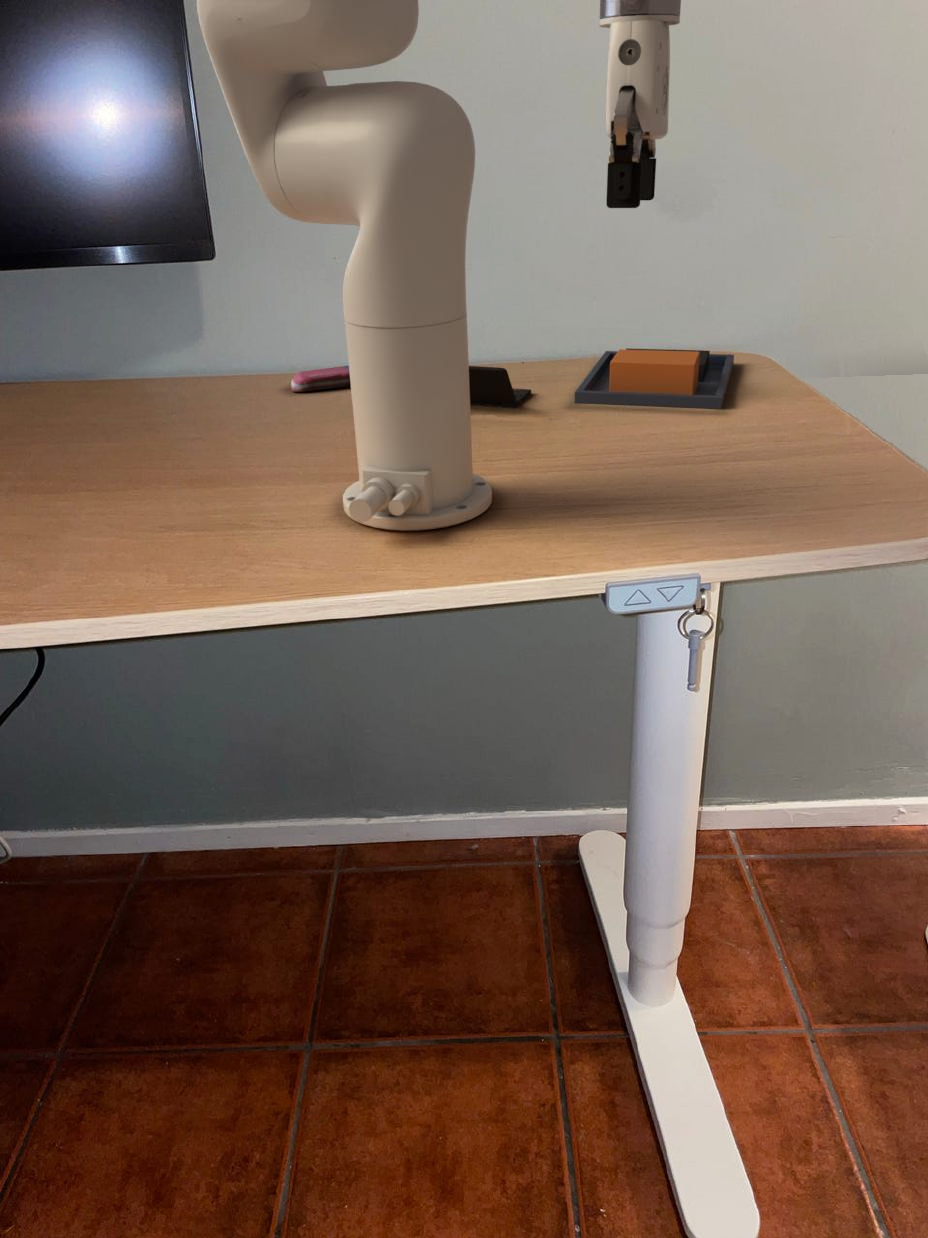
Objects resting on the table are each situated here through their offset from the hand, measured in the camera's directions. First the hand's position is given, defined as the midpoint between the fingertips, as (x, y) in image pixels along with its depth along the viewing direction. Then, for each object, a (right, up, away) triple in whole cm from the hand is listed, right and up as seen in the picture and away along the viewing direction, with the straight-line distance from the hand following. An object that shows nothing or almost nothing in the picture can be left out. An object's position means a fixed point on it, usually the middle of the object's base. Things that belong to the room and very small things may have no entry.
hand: (631, 203), depth 102 cm
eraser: (-32, -14, +20) cm, 41 cm away
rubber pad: (+7, -13, +17) cm, 23 cm away
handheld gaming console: (-16, -19, +10) cm, 26 cm away
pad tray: (+5, -15, +14) cm, 21 cm away
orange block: (+4, -17, +10) cm, 20 cm away
